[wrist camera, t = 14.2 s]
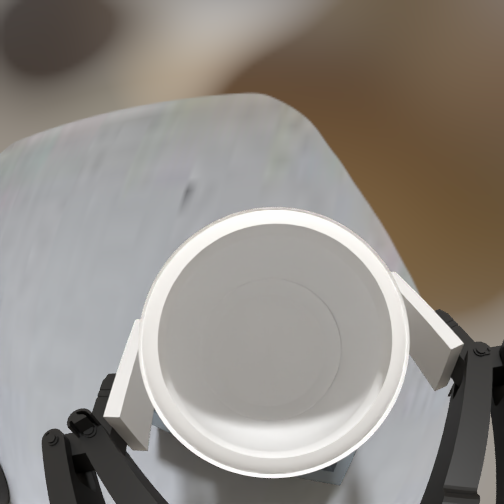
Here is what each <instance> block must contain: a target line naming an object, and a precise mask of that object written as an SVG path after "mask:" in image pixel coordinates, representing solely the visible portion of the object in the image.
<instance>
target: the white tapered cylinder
mask: <svg viewBox="0 0 504 504" xmlns="http://www.w3.org/2000/svg"><path fill="white" fill-rule="evenodd" d="M409 347H410V336H409V324H408V317H407V312H406V308H405V304H404V301H403V298H402V295H401V292H400V290H399V288H398V285H397V283H396V281H395V279H394V277H393V275H392V274H391V272H390V270H389V269H388V267H387V266H386V264H385V263H384V261H383V260H382V259H381V258H380V256H379V255H378V254H377V253H376V252H375V251H374V249H373V248H372V247H371V246H370V245H369V244H368V243H367V242H365V241H364V240H363V239H362V238H361V237H360V236H358V235H357V234H356V233H354V232H353V231H351V230H350V229H348V228H347V227H345V226H344V225H342V224H340V223H338V222H336V221H334V220H332V219H330V218H328V217H325V216H322V215H320V214H317V213H313V212H310V211H306V210H301V209H295V208H286V207H265V208H256V209H250V210H245V211H241V212H238V213H234V214H231V215H229V216H226V217H223V218H221V219H219V220H217V221H215V222H213V223H211V224H209V225H207V226H206V227H204V228H202V229H201V230H199V231H198V232H196V233H195V234H194V235H192V236H191V237H190V238H189V239H187V240H186V241H185V242H184V243H183V244H182V245H181V246H180V247H179V248H178V249H177V250H176V251H175V252H174V253H173V254H172V255H171V256H170V258H169V259H168V260H167V261H166V263H165V264H164V265H163V267H162V268H161V270H160V271H159V273H158V275H157V276H156V278H155V280H154V282H153V284H152V286H151V288H150V290H149V293H148V295H147V298H146V301H145V304H144V307H143V311H142V315H141V320H140V326H139V337H138V352H139V363H140V369H141V374H142V378H143V382H144V385H145V388H146V391H147V393H148V396H149V398H150V401H151V403H152V405H153V407H154V408H155V410H156V412H157V414H158V415H159V417H160V418H161V420H162V421H163V423H164V424H165V425H166V427H167V428H168V429H169V430H170V432H171V433H172V434H173V435H174V436H175V437H176V438H177V439H178V440H179V441H180V442H181V443H182V444H183V445H184V446H186V447H187V448H188V449H189V450H190V451H192V452H193V453H195V454H196V455H197V456H199V457H201V458H202V459H204V460H206V461H207V462H209V463H211V464H213V465H215V466H218V467H220V468H222V469H225V470H228V471H231V472H234V473H237V474H241V475H246V476H252V477H260V478H284V477H293V476H298V475H303V474H307V473H311V472H314V471H317V470H320V469H322V468H325V467H327V466H329V465H332V464H334V463H336V462H337V461H339V460H341V459H343V458H344V457H346V456H348V455H349V454H350V453H352V452H353V451H355V450H356V449H357V448H359V447H360V446H361V445H362V444H363V443H364V442H365V441H367V440H368V439H369V438H370V437H371V436H372V435H373V433H374V432H375V431H376V430H377V429H378V428H379V426H380V425H381V424H382V423H383V421H384V420H385V418H386V417H387V415H388V414H389V412H390V411H391V409H392V407H393V405H394V403H395V401H396V399H397V397H398V395H399V393H400V390H401V387H402V384H403V381H404V378H405V374H406V370H407V365H408V358H409Z"/></svg>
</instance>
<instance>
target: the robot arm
mask: <svg viewBox="0 0 504 504" xmlns="http://www.w3.org/2000/svg"><path fill="white" fill-rule="evenodd" d="M391 274H392V275H393V277H394V279H395V281H396V283H397V285H398V288H399V290H400V292H401V295H402V298H403V301H404V304H405V308H406V312H407V317H408V324H409V336H410V347H409V354H410V356H411V357H412V358H413V360H414V361H415V363H416V364H417V366H418V367H419V369H420V370H421V372H422V373H423V374H424V376H425V377H426V379H427V380H428V382H429V383H430V385H431V386H432V388H433V389H434V391H436V390H438V389H441V388H443V387H445V386H447V384H448V382H449V380H450V378H452V379H453V381H454V384H453V386H452V388H451V390H450V392H449V394H448V396H449V397H450V395H451V398H450V403H449V408H448V413H447V418H446V422H445V427H444V431H443V435H442V439H441V443H440V446H439V450H438V454H437V457H436V460H435V464H434V467H433V470H432V473H431V476H430V479H429V482H428V484H427V487H426V490H425V493H424V495H423V498H422V500H421V503H420V504H479V503H480V496H479V495H478V494H477V488H478V484H479V480H480V476H481V471H482V466H483V461H484V456H485V450H486V445H487V438H488V430H489V422H490V412H491V418H492V425H493V432H494V444H495V455H496V456H495V457H496V484H497V485H496V504H504V341H503V343H502V346H496V347H489V346H488V345H487V344H485V343H483V342H474V341H473V340H472V339H471V338H470V337H469V336H468V334H467V333H466V332H465V331H464V330H463V329H462V328H461V327H460V326H458V324H457V323H456V322H455V321H454V320H453V319H452V318H451V317H450V315H449V314H447V313H446V312H444V311H442V310H440V309H439V310H436V311H434V310H433V309H432V308H431V307H430V306H429V305H428V304H427V303H426V302H425V301H424V300H423V299H422V298H421V297H420V296H419V295H418V294H417V293H416V292H415V291H414V290H413V289H412V288H411V287H410V286H409V285H408V284H407V283H406V282H405V281H404V280H403V279H402V278H401V277H400V276H399V275H398V274H397V273H396V272H391ZM140 320H141V319H137V320H135V322H134V325H133V328H132V330H131V333H130V336H129V339H128V341H127V344H126V347H125V350H124V353H123V356H122V359H121V361H120V364H119V367H118V370H117V373H116V374H108V375H107V377H106V378H105V379H104V380H103V382H102V385H101V387H100V391H99V393H98V398H97V399H96V402H95V405H94V408H93V411H92V413H91V412H90V411H89V410H88V409H78V410H76V411H74V412H73V413H72V414H71V415H70V416H69V418H68V421H67V425H68V428H69V429H70V430H71V431H72V432H73V433H69V434H65V435H64V434H63V433H62V432H61V431H60V430H58V429H51V430H49V431H47V432H46V433H45V434H44V436H43V438H42V452H43V462H44V470H45V478H46V484H47V490H48V496H49V501H50V504H105V501H104V498H103V495H102V492H101V488H100V485H99V482H98V478H97V475H96V472H97V474H98V476H99V477H100V479H101V481H102V482H103V484H104V486H105V487H106V489H107V490H108V492H109V494H110V495H111V497H112V498H113V500H114V501H115V503H116V504H168V502H167V501H166V500H165V499H164V498H163V497H162V496H161V495H160V493H159V492H158V491H157V490H156V489H155V487H154V486H153V485H152V484H151V483H150V481H149V480H148V479H147V478H146V476H145V475H144V474H143V473H142V471H141V470H140V469H139V467H138V466H137V465H136V464H135V462H134V461H133V459H132V458H131V457H130V455H129V454H128V453H127V452H126V447H127V445H128V446H129V447H130V448H131V449H132V450H138V451H148V445H149V438H150V431H151V424H152V418H153V412H154V407H153V405H152V403H151V401H150V398H149V396H148V393H147V391H146V388H145V385H144V382H143V378H142V374H141V369H140V363H139V352H138V337H139V326H140ZM8 502H9V493H8V488H7V484H6V480H5V477H4V474H3V472H2V469H1V467H0V504H8Z"/></svg>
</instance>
